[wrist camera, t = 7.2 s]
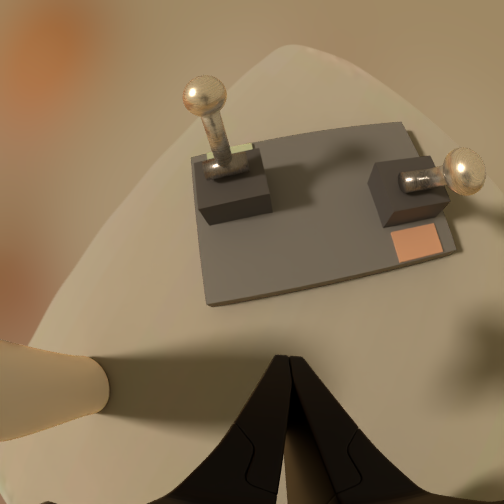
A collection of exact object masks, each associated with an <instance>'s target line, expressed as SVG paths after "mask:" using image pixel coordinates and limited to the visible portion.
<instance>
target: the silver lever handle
mask: <svg viewBox="0 0 504 504" xmlns="http://www.w3.org/2000/svg"><path fill="white" fill-rule="evenodd" d="M485 179H486V169H485V166H484V163H483V161H482V159H481V157H480V156H479V155H478V154H477V153H476V152H474V151H473V150H471V149H468V148H456V149H454V150H452V151H451V152H450V153H448V155H447V156H446V158H445V160H444V163H443V165H442V166H438V167H434V168H430V169H424V170H416V171H409V172H402V173H399V175H398V185H399V188H400V190H401V191H402V192H403V193H408V192H414V191H420V190H426V189H432V188H438V187H440V186H445V185H448V186H449V187H450V189H451V190H453V191H454V192H455V193H457V194H460V195H464V196H469V195H473V194H475V193H477V192H478V191H479V190H480V189H481V188H482V187H483V185H484V182H485Z"/></svg>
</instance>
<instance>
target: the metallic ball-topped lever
mask: <svg viewBox="0 0 504 504" xmlns="http://www.w3.org/2000/svg"><path fill="white" fill-rule="evenodd" d="M226 98H227V92H226V88H225V86H224V85H223V83H222V82H221V81H220V80H219V79H217V78H215V77H213V76H208V75H203V76H198V77H196V78H194V79H192V80H191V81H190V82H189V83H188V84H187V85H186V87H185V89H184V91H183V103H184V105H185V107H186V108H187V110H188V111H190V112H191V113H192V114H194V115H196V116H200V117H201V119H202V122H203V125H204V128H205V131H206V134H207V138H208V141H209V144H210V147H211V150H212V153H213V156H214V159H211V160H207V161H203V162H202V167H203V172H204V175H205V178H206V180H207V181H209V180H213V179H217V178H221V177H225V176H230V175H234V174H239V173H243V172H248V171H250V169H249V164H248V160H247V156H246V152H241V153H236V154H232V153H231V149H230V146H229V142H228V139H227V135H226V132H225V128H224V125H223V121H222V118H221V114H220V110H221V109H222V108H223V106H224V105H225V102H226Z"/></svg>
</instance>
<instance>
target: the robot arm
mask: <svg viewBox="0 0 504 504" xmlns="http://www.w3.org/2000/svg"><path fill="white" fill-rule="evenodd" d="M283 454H284V463H285V475H286V488H287V502H288V504H504V500H502V501H496V502H486V501H477V500H468V499H461V498H455V497H449V496H443V495H438V494H433V493H430V492H427V491H425V490H423V489H422V488H420V487H418V486H417V485H416V484H415V483H413V482H412V481H411V480H410V479H409V478H408V477H407V476H406V475H404V474H403V473H402V472H401V471H400V470H399V469H398V468H397V467H396V466H395V465H393V464H392V463H391V462H390V461H389V460H388V459H387V458H386V457H385V456H384V455H383V454H382V453H381V452H380V451H379V450H378V449H377V448H376V447H375V446H374V445H373V444H372V442H371V441H370V440H369V439H368V438H367V437H366V435H365V434H364V433H363V432H362V431H361V429H358V426H357V425H356V423H355V422H354V421H353V420H352V418H351V417H350V416H349V415H348V414H347V412H346V411H345V410H344V409H343V407H342V406H341V405H340V404H339V402H338V401H337V400H336V399H335V397H334V396H333V395H332V394H331V392H330V391H329V390H328V389H327V387H326V386H325V385H324V384H323V382H322V381H321V380H320V379H319V377H318V376H317V375H316V374H315V372H314V371H313V370H312V368H311V367H310V366H309V365H308V363H307V362H306V361H305V360H304V358H303V357H300V356H289V357H288V356H287V355H275V356H274V357H273V359H272V361H271V363H270V364H269V366H268V368H267V369H266V371H265V373H264V374H263V376H262V378H261V379H260V381H259V383H258V384H257V386H256V388H255V389H254V391H253V393H252V394H251V396H250V398H249V399H248V401H247V402H246V404H245V406H244V407H243V409H242V410H241V412H240V414H239V415H238V417H237V418H236V420H235V421H234V424H232V426H231V427H230V429H229V430H228V432H227V433H226V435H225V436H224V437H223V439H222V440H221V442H220V443H219V444H218V445H217V447H216V448H215V449H214V450H213V451H212V452H211V453H210V455H209V456H208V457H207V458H206V459H205V460H204V461H203V462H202V463H201V464H200V465H199V466H198V467H197V468H196V469H195V470H194V471H193V472H192V473H191V474H190V475H189V476H188V477H187V478H186V479H185V480H184V481H183V482H182V483H181V484H179V485H178V486H177V487H176V488H175V489H174V490H172V491H171V492H170V493H168V494H167V495H165V496H163V497H161V498H159V499H157V500H154V501H152V502H150V503H147V504H276V500H277V494H278V488H279V481H280V475H281V468H282V461H283ZM41 504H56V503H53V502H49V501H46V502H43V503H41Z"/></svg>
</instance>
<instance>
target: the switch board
mask: <svg viewBox="0 0 504 504" xmlns="http://www.w3.org/2000/svg"><path fill="white" fill-rule="evenodd" d="M230 149H231V153H232V154H236V153H241V152H246V156H247V160H248V164H249V169H250V171H248V172H243V173H239V174H234V175H230V176H225V177H221V178H217V179H213V180H209V181H207V180H206V178H205V175H204V172H203V167H202V162H203V161H207V160H211V159H214V156H213V153H212V152H209V153H207V154H203V155H199V156H195V157H191V166H192V178H193V190H194V201H195V212H196V222H197V232H198V241H199V250H200V259H201V267H202V276H203V284H204V291H205V299H206V304H207V305H209V306H211V307H215V306H221V305H226V304H232V303H237V302H243V301H248V300H254V299H259V298H264V297H270V296H275V295H280V294H285V293H290V292H295V291H300V290H305V289H309V288H314V287H319V286H324V285H328V284H333V283H337V282H342V281H346V280H351V279H355V278H360V277H364V276H368V275H372V274H377V273H381V272H385V271H389V270H393V269H397V268H401V267H405V266H409V265H413V264H417V263H421V262H425V261H429V260H433V259H436V258H440V257H444V256H448V255H450V254H451V253H453V252H454V251H455V250H456V246H455V243H454V240H453V237H452V234H451V231H450V229H449V226H448V223H447V220H446V218H445V215H444V212H443V209H444V208H445V207H446V206H447V204H448V203H449V202H450V199H449V196H448V194H447V191H446V189H445V187H444V186H440V187H438V188H432V189H426V190H420V191H414V192H408V193H403V192H402V191H401V190H400V188H399V185H398V175H399V173H402V172H409V171H416V170H424V169H430V168H434V167H435V165H434V163H433V161H432V159H431V157H430V156H423V157H419V155H418V153H417V151H416V149H415V147H414V145H413V143H412V141H411V139H410V137H409V135H408V133H407V131H406V129H405V127H404V126H403V124H402V122H392V123H381V124H370V125H361V126H353V127H344V128H337V129H330V130H323V131H316V132H310V133H303V134H297V135H292V136H286V137H280V138H275V139H270V140H265V141H260V142H255V143H248V144H243V145H239V146H234V147H230Z"/></svg>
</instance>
